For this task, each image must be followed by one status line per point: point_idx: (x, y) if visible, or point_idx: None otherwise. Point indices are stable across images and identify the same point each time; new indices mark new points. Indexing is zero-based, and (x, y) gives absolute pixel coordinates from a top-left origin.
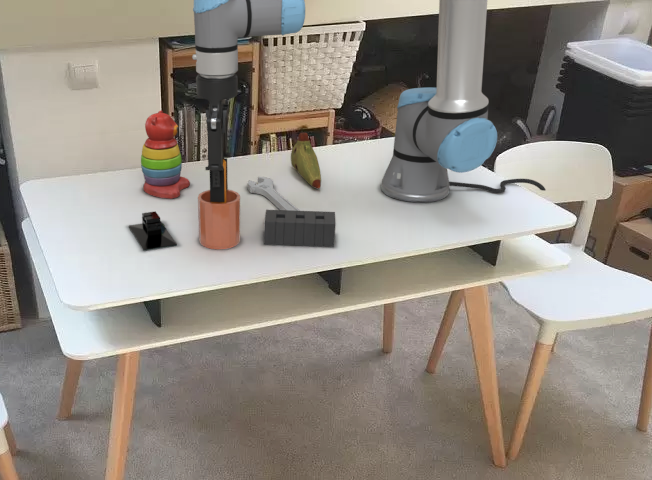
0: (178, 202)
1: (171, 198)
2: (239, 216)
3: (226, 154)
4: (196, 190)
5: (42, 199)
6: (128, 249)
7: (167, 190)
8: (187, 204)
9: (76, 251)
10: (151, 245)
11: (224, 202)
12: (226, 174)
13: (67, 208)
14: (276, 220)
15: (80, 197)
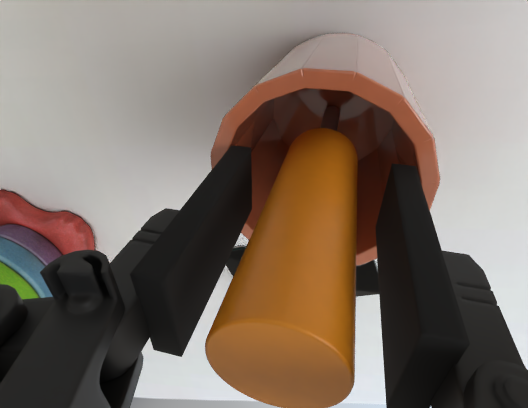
0: (102, 213)
1: (89, 227)
2: (355, 51)
3: (95, 302)
4: (20, 174)
5: (165, 389)
6: (370, 312)
7: (75, 245)
8: (105, 195)
9: (370, 378)
10: (366, 278)
11: (343, 151)
12: (217, 203)
13: (189, 370)
14: None
15: (142, 353)
